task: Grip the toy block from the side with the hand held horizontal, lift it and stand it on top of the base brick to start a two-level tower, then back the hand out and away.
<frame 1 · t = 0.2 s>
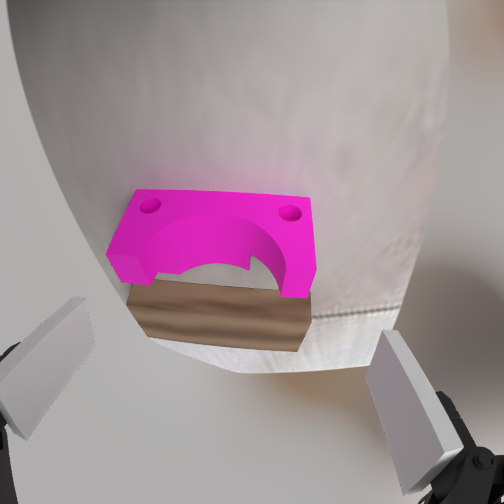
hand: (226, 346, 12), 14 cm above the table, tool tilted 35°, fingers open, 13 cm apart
toy block: (221, 215, 27), on the table
base brick: (221, 305, 39), on the table
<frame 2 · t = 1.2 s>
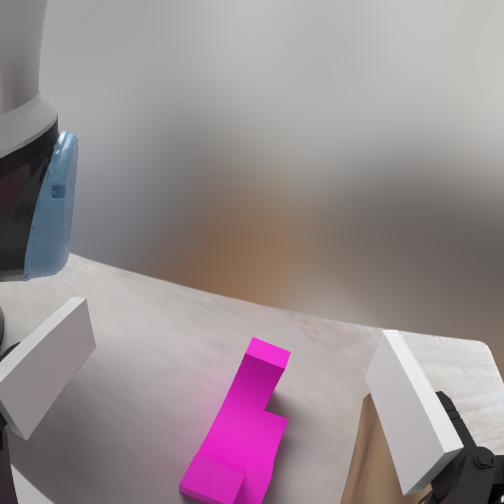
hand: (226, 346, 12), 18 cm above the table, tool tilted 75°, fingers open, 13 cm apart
toy block: (239, 443, 24), on the table
base brick: (385, 486, 21), on the table
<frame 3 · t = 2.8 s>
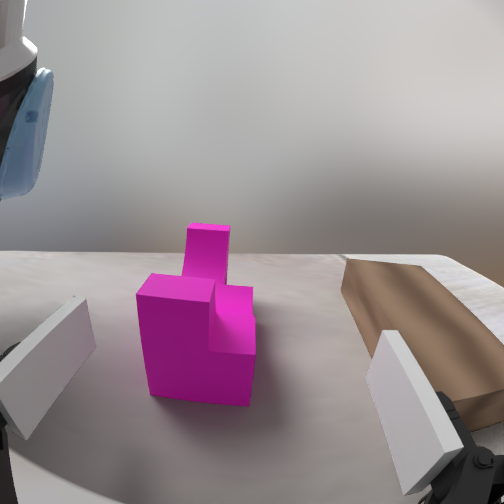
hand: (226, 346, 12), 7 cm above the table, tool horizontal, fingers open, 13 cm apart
toy block: (211, 338, 24), on the table
base brick: (413, 345, 23), on the table
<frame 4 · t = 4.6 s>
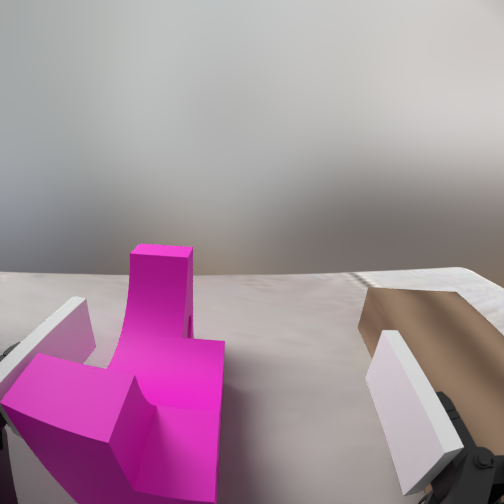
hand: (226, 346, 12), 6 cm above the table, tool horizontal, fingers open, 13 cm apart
toy block: (167, 413, 15), on the table, touching gripper
base brick: (455, 407, 14), on the table
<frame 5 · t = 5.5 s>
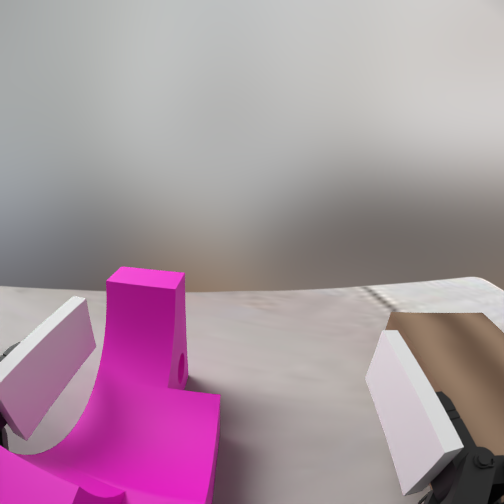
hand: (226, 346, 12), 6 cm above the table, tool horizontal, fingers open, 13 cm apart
toy block: (152, 469, 11), on the table, touching gripper
base brick: (483, 448, 10), on the table
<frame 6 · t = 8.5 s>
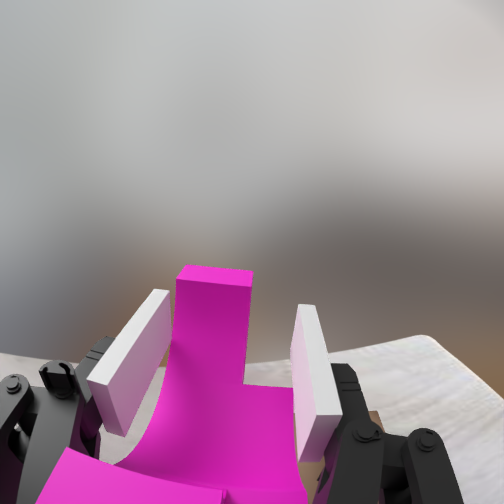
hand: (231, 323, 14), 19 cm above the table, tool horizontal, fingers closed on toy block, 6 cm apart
toy block: (220, 467, 12), point 12 cm above the table, touching gripper
when the fingers open (11 cm above the table, at t = 10.9 s): toy block drops 1 cm, resting on base brick.
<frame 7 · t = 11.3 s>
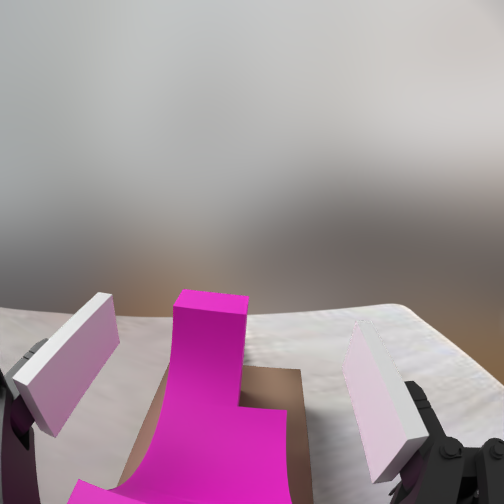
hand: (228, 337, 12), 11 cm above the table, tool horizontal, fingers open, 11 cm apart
toy block: (217, 481, 12), point 4 cm above the table, touching base brick
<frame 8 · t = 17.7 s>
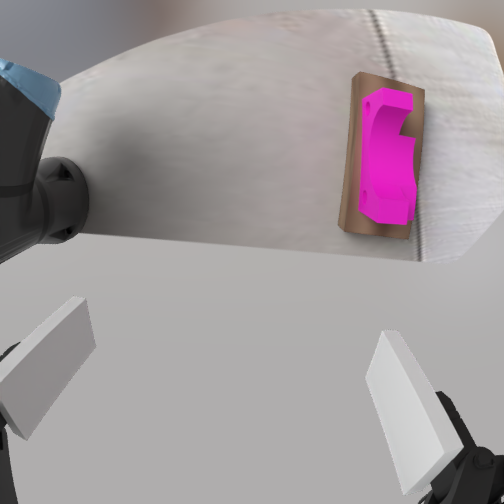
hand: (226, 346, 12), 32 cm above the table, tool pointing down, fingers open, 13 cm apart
toy block: (382, 156, 35), point 4 cm above the table, touching base brick
base brick: (379, 155, 38), on the table
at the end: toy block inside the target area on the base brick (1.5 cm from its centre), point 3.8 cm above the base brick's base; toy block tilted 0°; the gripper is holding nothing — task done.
